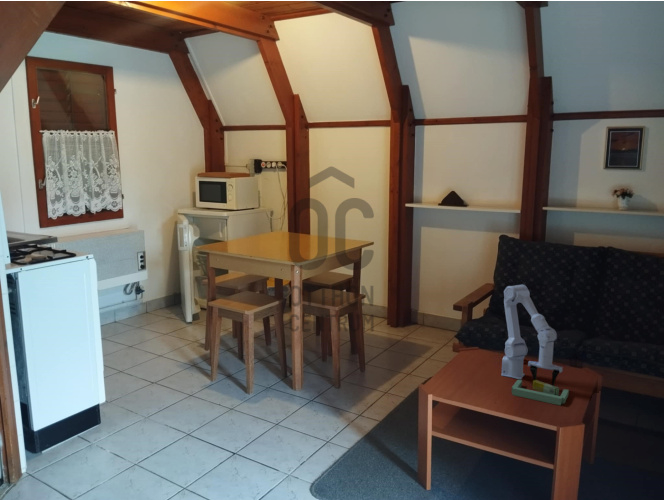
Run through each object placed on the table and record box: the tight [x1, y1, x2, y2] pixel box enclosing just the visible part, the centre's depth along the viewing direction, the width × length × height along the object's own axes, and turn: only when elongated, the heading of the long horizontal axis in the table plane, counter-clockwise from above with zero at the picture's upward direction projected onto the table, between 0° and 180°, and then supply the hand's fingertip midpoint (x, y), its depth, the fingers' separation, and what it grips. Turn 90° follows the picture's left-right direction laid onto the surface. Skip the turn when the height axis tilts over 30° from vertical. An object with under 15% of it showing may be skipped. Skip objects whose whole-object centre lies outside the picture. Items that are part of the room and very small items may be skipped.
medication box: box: [531, 379, 560, 396], centre depth 246 cm, size 12×3×4 cm, turn 35°
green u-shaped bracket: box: [511, 379, 570, 406], centre depth 243 cm, size 22×14×3 cm, turn 58°
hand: (543, 383), depth 251 cm, fingers open, 7 cm apart
